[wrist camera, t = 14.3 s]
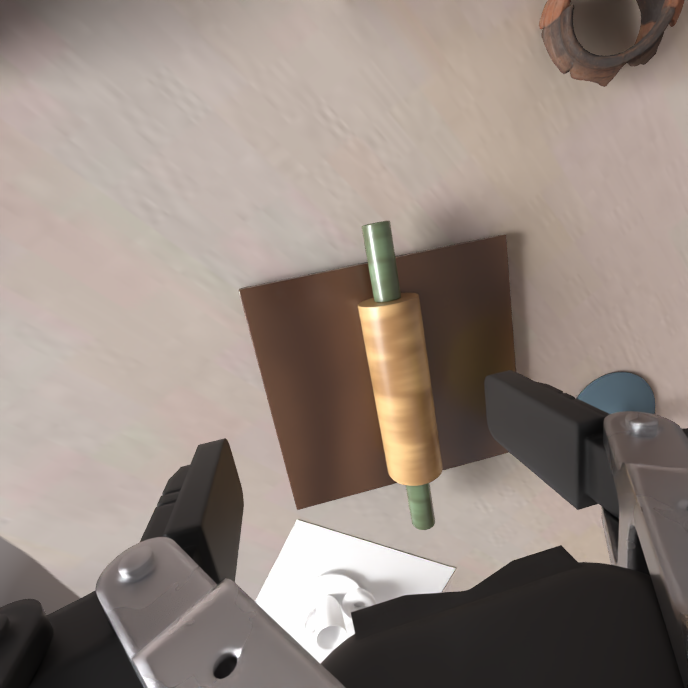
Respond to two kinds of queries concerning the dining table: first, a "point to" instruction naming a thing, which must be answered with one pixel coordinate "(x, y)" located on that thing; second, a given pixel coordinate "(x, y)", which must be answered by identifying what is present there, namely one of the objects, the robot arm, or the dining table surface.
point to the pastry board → (353, 370)
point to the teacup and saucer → (338, 584)
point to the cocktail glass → (619, 393)
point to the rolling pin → (400, 376)
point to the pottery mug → (569, 55)
